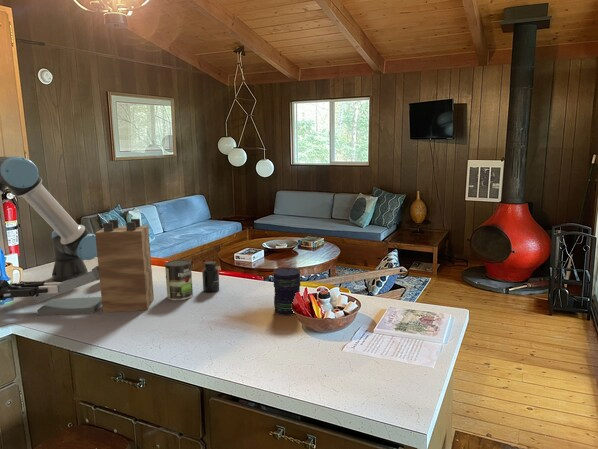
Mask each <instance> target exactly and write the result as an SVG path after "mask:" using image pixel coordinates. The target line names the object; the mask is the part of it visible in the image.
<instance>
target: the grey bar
mask: <svg viewBox="0 0 598 449" xmlns="http://www.w3.org/2000/svg"><path fill="white" fill-rule="evenodd" d="M97 281H100V278H99V267H98V265H96V266H94V267H93V268H92V269H91V271H88V273H85V274H82V275H80V276H77V277H74V278H72V279H69V280H66V281H60V282H61V283H58V284H55V285H53V286H58V292H59V293H52V294H39V296H37V297H36V295H35V296H32V298H33V300H34V303H37V304H38V303H40V302H42V301H45V300H48V299H50V298H53V297H55V296H58V295H59V296H60V295H61V294H63V293H67V292H69V291H72V290H74V289H75V290H76V289H77V288H80V287H83V286H85V285H89V284H91V283H93V282H97Z"/></svg>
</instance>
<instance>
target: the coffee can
mask: <svg viewBox="0 0 598 449" xmlns="http://www.w3.org/2000/svg"><path fill="white" fill-rule="evenodd" d="M164 268H165V282H166V284H165V285H166V294H167V295H166V298H167V299H168V300H170V301H184V300H185V301H186V300H188V299H190V298H192V297H193V296H194V293H193V278H192V277H193V275H192V274H193V273H192V261H191V260H189V259H188V260H187V259H173V260H169V261H167V262H165V263H164Z"/></svg>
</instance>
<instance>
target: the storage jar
mask: <svg viewBox="0 0 598 449" xmlns="http://www.w3.org/2000/svg"><path fill="white" fill-rule="evenodd" d="M272 279H273V288H274V296H273V306H274V313H275V314H277V315H280V316H286V317H287V316H294V313H293V311H292V309H291V304H292V302H293V299H294V296H295V293H296V292H300V290H301V289H300V288H301V270H300V269H299V268H295V267H281V268H277V269H275V270H273V278H272Z"/></svg>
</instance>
